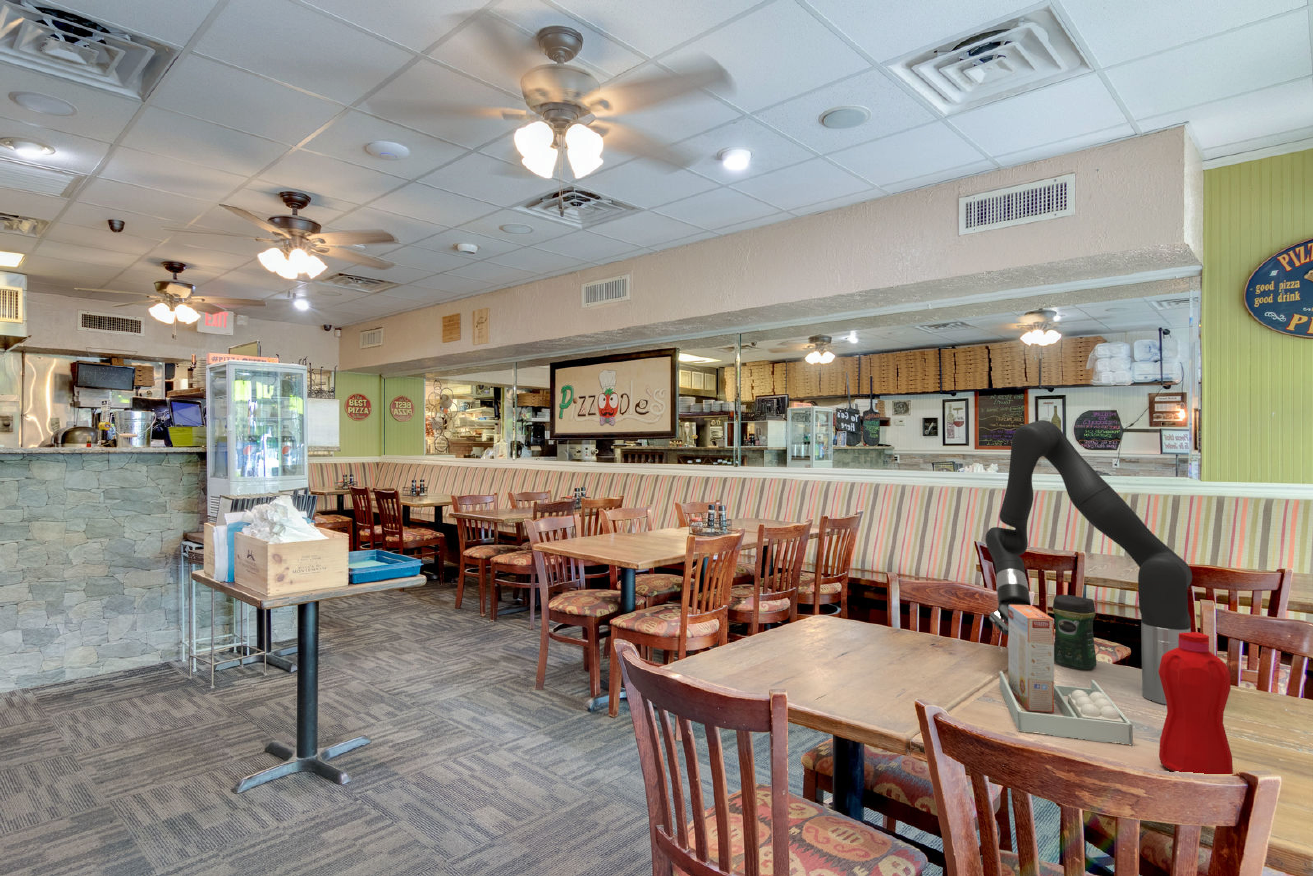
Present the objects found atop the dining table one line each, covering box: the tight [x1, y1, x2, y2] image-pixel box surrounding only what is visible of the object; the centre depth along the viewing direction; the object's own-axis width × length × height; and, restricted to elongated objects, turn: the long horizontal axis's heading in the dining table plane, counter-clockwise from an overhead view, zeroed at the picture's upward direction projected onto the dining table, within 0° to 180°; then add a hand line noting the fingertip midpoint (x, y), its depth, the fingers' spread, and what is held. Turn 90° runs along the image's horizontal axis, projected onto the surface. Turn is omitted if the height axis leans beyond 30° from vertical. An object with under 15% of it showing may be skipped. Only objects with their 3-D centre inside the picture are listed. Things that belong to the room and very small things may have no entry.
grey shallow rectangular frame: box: [998, 670, 1134, 746], centre depth 152 cm, size 20×28×4 cm
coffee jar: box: [1052, 594, 1097, 671], centre depth 186 cm, size 10×8×19 cm
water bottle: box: [1158, 631, 1234, 774], centre depth 125 cm, size 9×11×25 cm
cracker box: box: [1007, 605, 1055, 714], centre depth 159 cm, size 14×6×21 cm, turn 168°
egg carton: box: [1067, 690, 1124, 723], centre depth 144 cm, size 7×14×6 cm, turn 160°
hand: (1020, 649), depth 171 cm, fingers closed
